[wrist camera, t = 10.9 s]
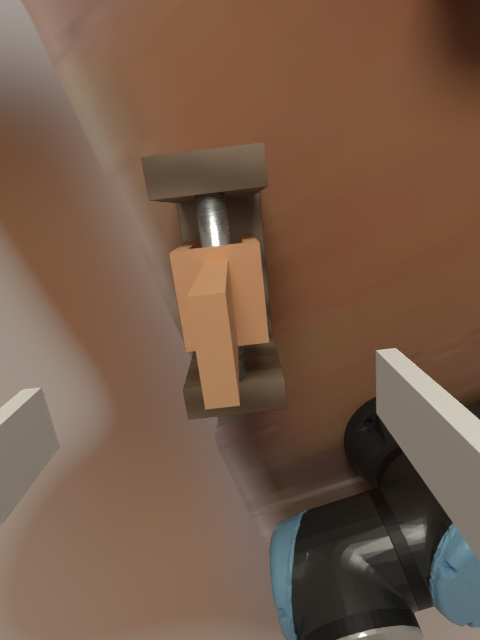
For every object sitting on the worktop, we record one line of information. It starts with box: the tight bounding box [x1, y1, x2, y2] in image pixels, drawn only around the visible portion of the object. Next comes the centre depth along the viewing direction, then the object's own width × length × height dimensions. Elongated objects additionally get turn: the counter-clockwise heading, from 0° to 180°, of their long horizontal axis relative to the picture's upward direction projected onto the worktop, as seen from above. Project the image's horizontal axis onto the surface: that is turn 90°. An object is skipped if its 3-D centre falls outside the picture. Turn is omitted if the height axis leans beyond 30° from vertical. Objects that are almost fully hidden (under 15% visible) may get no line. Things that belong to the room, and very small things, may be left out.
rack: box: [141, 142, 287, 419], centre depth 38 cm, size 22×10×18 cm, turn 7°
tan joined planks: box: [169, 233, 269, 410], centre depth 29 cm, size 8×7×23 cm
